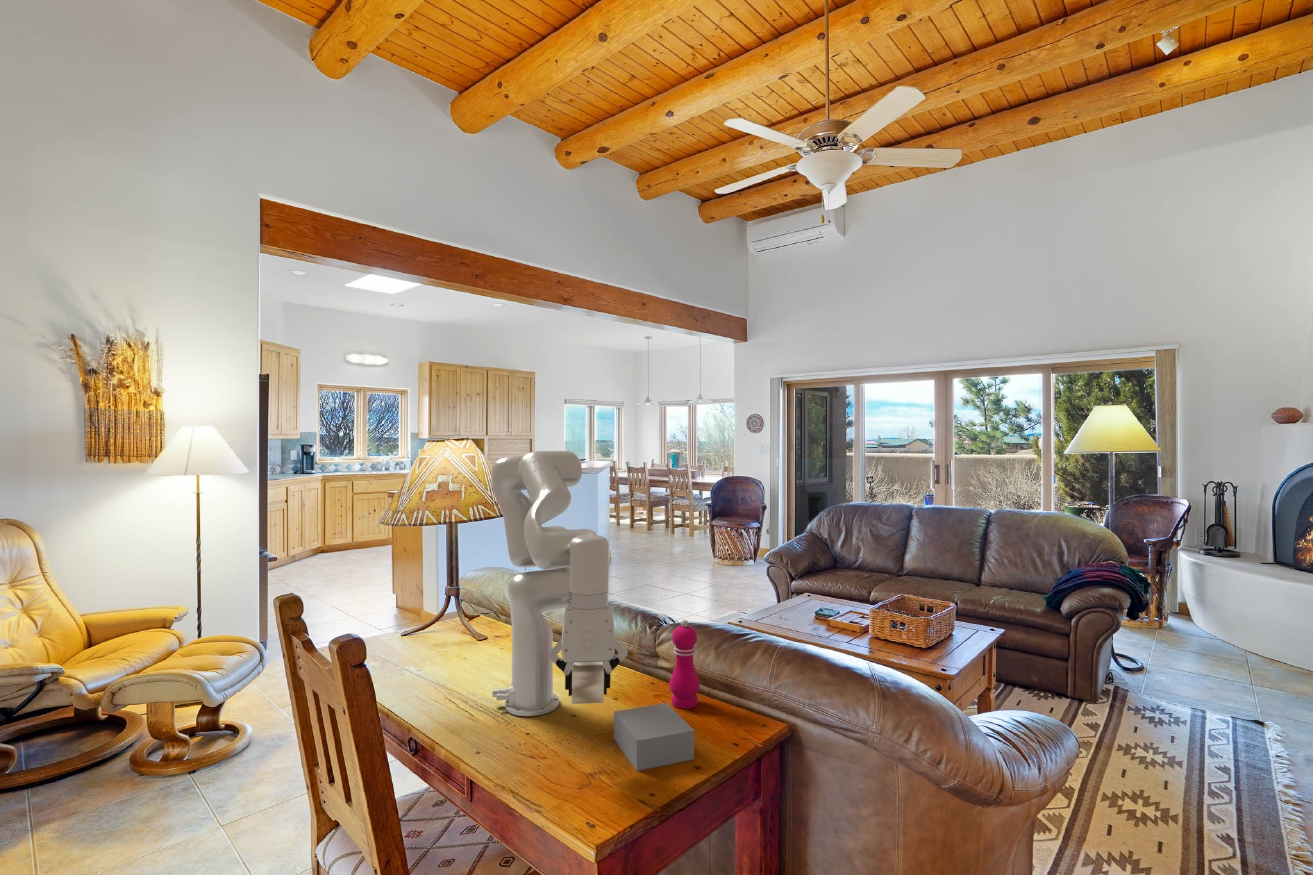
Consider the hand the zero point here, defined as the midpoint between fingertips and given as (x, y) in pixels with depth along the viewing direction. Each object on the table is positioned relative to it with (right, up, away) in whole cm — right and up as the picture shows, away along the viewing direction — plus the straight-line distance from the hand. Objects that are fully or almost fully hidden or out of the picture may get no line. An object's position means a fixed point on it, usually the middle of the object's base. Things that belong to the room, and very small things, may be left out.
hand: (587, 691), depth 122 cm
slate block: (+13, -14, +6) cm, 20 cm away
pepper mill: (+20, -14, +28) cm, 37 cm away
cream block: (0, -1, 0) cm, 1 cm away
